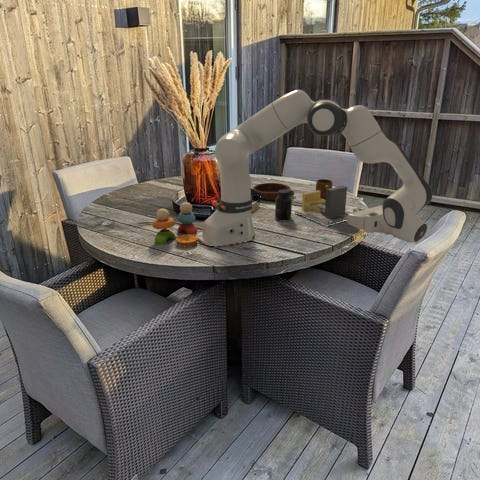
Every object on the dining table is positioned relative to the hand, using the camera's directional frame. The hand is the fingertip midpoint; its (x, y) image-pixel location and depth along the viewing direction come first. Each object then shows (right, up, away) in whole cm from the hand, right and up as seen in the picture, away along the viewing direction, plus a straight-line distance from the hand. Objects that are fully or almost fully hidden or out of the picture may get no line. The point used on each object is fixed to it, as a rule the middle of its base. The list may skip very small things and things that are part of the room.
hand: (355, 210), depth 172 cm
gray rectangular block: (-7, -1, +12) cm, 14 cm away
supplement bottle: (-27, -3, +14) cm, 31 cm away
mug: (-6, +6, +35) cm, 36 cm away
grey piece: (-9, -2, +15) cm, 18 cm away
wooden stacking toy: (-67, -11, -5) cm, 68 cm away
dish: (-30, +9, +44) cm, 54 cm away
